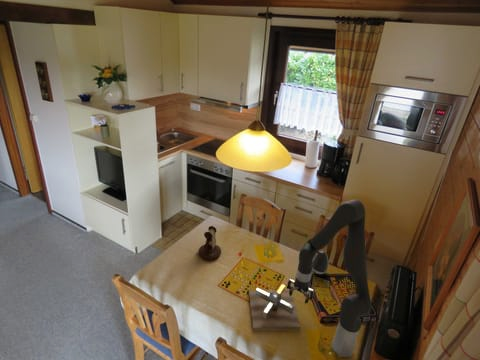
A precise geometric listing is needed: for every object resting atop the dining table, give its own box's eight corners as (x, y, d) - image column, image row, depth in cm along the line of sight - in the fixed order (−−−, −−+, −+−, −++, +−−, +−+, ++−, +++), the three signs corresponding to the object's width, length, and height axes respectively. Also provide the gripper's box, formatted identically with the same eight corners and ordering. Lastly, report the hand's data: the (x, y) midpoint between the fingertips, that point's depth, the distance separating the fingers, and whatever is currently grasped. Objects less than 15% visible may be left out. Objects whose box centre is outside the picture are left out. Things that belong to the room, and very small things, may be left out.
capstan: (283, 333, 150) (285, 321, 146) (245, 311, 159) (246, 300, 156) (300, 303, 167) (302, 292, 163) (264, 285, 176) (266, 275, 173)
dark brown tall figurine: (216, 264, 193) (217, 238, 184) (194, 257, 197) (194, 232, 188) (224, 249, 206) (225, 225, 197) (204, 244, 209) (204, 220, 200)
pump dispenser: (314, 262, 200) (318, 244, 193) (329, 270, 194) (334, 251, 188) (307, 270, 193) (311, 252, 186) (322, 279, 187) (327, 260, 180)
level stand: (300, 330, 154) (300, 327, 153) (252, 330, 152) (253, 327, 151) (290, 292, 176) (290, 290, 175) (248, 292, 174) (249, 290, 173)
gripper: (319, 278, 156) (313, 300, 164) (293, 266, 163) (289, 288, 170) (314, 287, 151) (308, 310, 158) (287, 274, 157) (283, 297, 164)
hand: (298, 298), depth 164 cm, fingers open, 8 cm apart
